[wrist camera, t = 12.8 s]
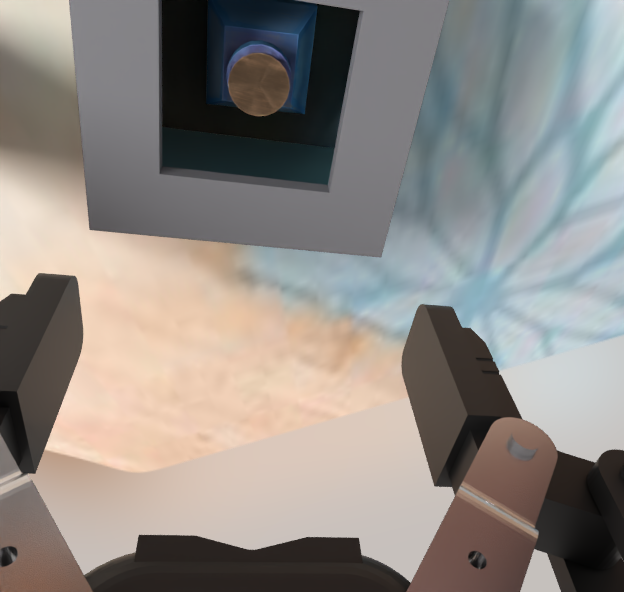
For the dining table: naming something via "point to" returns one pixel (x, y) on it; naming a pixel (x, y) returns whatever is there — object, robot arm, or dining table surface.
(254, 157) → the box
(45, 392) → the robot arm
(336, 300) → the dining table surface
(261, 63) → the perfume bottle
